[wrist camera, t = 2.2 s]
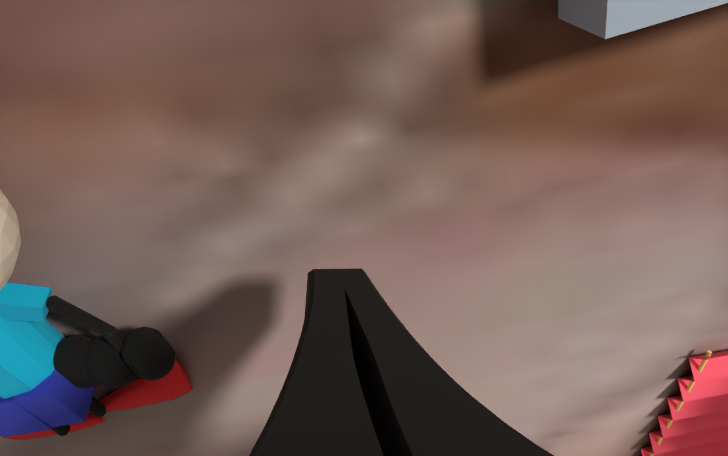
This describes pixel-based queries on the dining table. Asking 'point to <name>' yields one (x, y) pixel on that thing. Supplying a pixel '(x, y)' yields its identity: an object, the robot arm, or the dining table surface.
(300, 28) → the dining table surface
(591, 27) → the slate box
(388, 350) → the robot arm
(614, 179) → the dining table surface
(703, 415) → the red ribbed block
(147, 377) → the toy figure
